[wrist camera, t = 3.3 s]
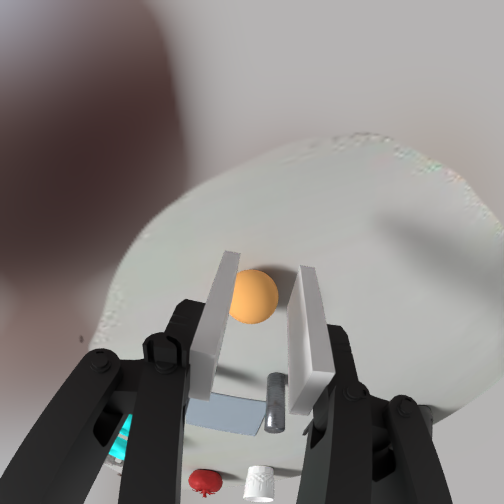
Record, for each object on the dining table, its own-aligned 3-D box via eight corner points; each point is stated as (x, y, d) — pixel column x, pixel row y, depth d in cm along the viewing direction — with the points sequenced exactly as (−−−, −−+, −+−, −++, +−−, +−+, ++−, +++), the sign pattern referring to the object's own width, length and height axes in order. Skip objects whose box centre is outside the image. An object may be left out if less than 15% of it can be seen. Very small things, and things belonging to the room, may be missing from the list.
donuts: (90, 444, 43) (101, 439, 40) (104, 413, 52) (117, 403, 49) (128, 465, 46) (144, 462, 42) (139, 433, 55) (155, 425, 51)
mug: (98, 441, 65) (91, 456, 59) (103, 438, 63) (96, 454, 57) (123, 455, 68) (118, 470, 62) (130, 453, 65) (124, 469, 59)
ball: (283, 265, 30) (284, 295, 25) (272, 306, 33) (271, 339, 28) (231, 255, 30) (223, 284, 25) (225, 297, 33) (216, 329, 28)
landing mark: (270, 402, 42) (270, 403, 42) (254, 435, 48) (254, 435, 48) (186, 386, 42) (186, 387, 42) (186, 422, 48) (186, 423, 48)
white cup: (277, 465, 57) (275, 497, 48) (274, 473, 60) (272, 502, 51) (247, 463, 57) (243, 495, 48) (246, 471, 61) (242, 500, 52)
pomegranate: (187, 464, 62) (181, 490, 54) (221, 469, 61) (217, 496, 53) (195, 474, 67) (190, 497, 59) (225, 478, 66) (222, 502, 58)
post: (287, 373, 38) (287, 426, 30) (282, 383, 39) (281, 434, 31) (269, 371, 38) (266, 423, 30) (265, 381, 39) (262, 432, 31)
